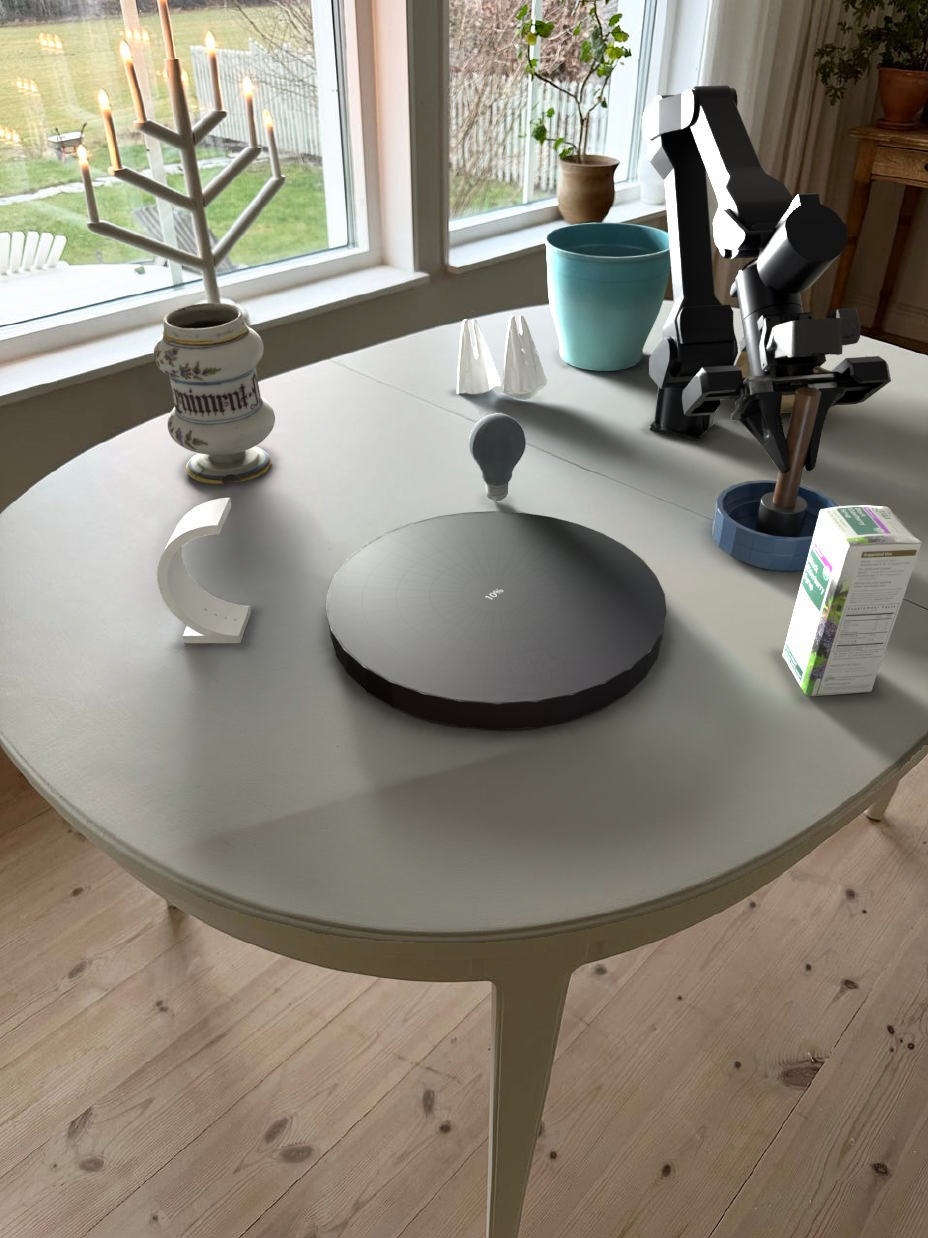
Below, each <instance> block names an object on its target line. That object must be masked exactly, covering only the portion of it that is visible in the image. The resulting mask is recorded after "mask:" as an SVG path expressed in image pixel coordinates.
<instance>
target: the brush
mask: <svg viewBox="0 0 928 1238" xmlns="http://www.w3.org/2000/svg"><path fill="white" fill-rule="evenodd" d="M820 397H821V391H819V390H818V389H815V388H811V387H801V388H798V389H797V390H796V394H795V398H794V403H793V408H792V412H791V413H790V418H789V421H788V422H789V423H788V426H787V431H786V435H785V438H786V443H787V448H788V453H789V463H790V470H789V471H788V472H787V473H781V472H780V470H779V469H778V473H777V477H776V481H777V482H776V487H775V492H770V493H767V494H765V495H764V496H763V497H762V498H761V502H760V507H759V512H758V517H757V522H756V526H755V531H756V532H760V533H764V534H768V535H773V536H780V537H792V538H797V537H800V534H801V530H802V526H803V521H804V517H805V513H806V509H807V503H806V501H805V500H804V499H803V498H801V497H799V496H798V492H799V487H800V485H801V483H802V480H803V479H802V478H803V473H804V469H805V461H806V457H807V453H808V448H809V444H810V440H811V435H812V431H813V427H814V422H815V418H816V414H817V410H818V405H819V401H820Z"/></svg>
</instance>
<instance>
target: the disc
mask: <svg viewBox="0 0 928 1238" xmlns="http://www.w3.org/2000/svg"><path fill="white" fill-rule="evenodd" d="M666 601H667V600H666V594H665V591H664V588H663V587H662V585H661V583H660V581H659V578H658V576H657V575H656V574H655V573H654V571H653V570H652V569H651V568H650V566H649V565H648V564H647V563H646V562H645V560H644V559H642V558H641V557H640V556H639V555H637V553H635V552H634V551H632V550H631V549H630V548H629V547H627V546H626V545H624V544H623V543H622V542H619V541H617V540H615V539H614V538H612V537H610V536H608V535H606V534H605V533H603V532H600V531H597V530H595V529H592V528H589V527H588V526H585V525H582V524H579V523H577V522H573V521H569V520H568V521H567V520H565V519H560V518H557V517H553V516H548V515H541V514H534V513H526V512H520V511H519V512H518V511H517V512H516V511H496V510H491V511H490V510H488V511H487V510H486V511H467V512H466V511H465V512H459V513H452V514H445V515H438V516H437V515H436V516H434V517H430V518H425V519H421V520H418V521H414V522H410V523H408V524H405V525H403V526H400V527H397V528H395V529H391V530H390V531H387V532H384V533H383V534H381V535H379V536H377V537H376V538H374V539H372V540H370V541H368V542H367V543H365V544H364V545H362V546H361V547H360V548H359V549H358V550H356V551H355V552H354V553H353V554H351V555H350V556H349V557H347V559H346V560H345V561H344V562H343V564H341V566H340V567H339V569H338V570H337V571H336V572H335V574H334V575H333V578H332V580H331V583H330V584H329V587H328V589H327V592H326V604H325V613H326V618H327V620H328V626H329V635H330V640H331V644H332V647H333V650H334V655H335V657H336V658H337V660H338V661H339V663H340V665H341V666H342V668H343V670H344V671H345V672H346V674H347V675H348V676H349V677H350V678H351V679H352V680H353V681H354V682H355V683H356V684H358V685H359V686H360V687H361V688H362V689H363V690H364V691H365V692H366V693H367V694H369V695H371V696H372V697H374V698H376V699H377V700H379V701H380V702H382V703H385V704H386V705H388V706H390V707H391V708H393V709H396V710H398V711H401V712H403V713H407V714H409V715H411V716H414V717H416V718H419V719H422V720H425V721H430V722H433V723H439V724H443V725H447V726H452V727H458V728H464V729H465V728H467V729H477V730H478V729H479V730H490V731H491V730H492V731H503V730H520V729H537V728H542V727H545V726H550V725H555V724H561V723H566V722H571V721H574V720H576V719H579V718H581V717H583V716H584V717H585V716H587V715H590V714H592V713H595V712H598V711H601V710H602V709H604V708H606V707H608V706H610V705H611V704H613V703H614V702H615V703H616V701H618V700H620V699H622V698H623V697H625V696H627V695H628V694H629V693H630V692H631V691H632V690H633V689H635V688H636V687H637V686H638V685H639V684H640V683H641V682H642V681H643V680H644V679H646V677H647V676H648V674H649V673H650V671H651V670H652V668H653V666H654V665H655V663H656V662H657V660H658V659H659V658H658V657H659V655H660V650H661V647H662V642H663V637H664V631H665V625H666V618H667V613H668V612H667V610H668V609H667V602H666Z"/></svg>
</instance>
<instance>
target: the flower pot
mask: <svg viewBox="0 0 928 1238" xmlns="http://www.w3.org/2000/svg"><path fill="white" fill-rule="evenodd" d="M544 244H545V246H546V247H545V248H546V250H545V251H546V267H547V271H546V272H547V292H548V301H549V302H548V303H549V309H550V312H551V317H552V319H553V323H554V326H555V331H556V335H557V337H558V343H559V356H560V358H561V359H562V360H563V361H564V362H565V363H567V364H568V365H570V366H573V367H576V368H578V369H582V370H587V371H588V370H589V371H596V372H597V371H598V372H611V371H612V372H613V371H620V370H625V369H628V368H629V369H630V368H631V367H633V366H635V365H637V364H638V363H639V362H640V361H641V359H642V354H643V350H644V347H645V345H646V342H647V341H648V338H649V336H650V333H651V331H652V329H653V327H654V325H655V323H656V321H657V319H658V316H659V314H660V311H661V309H662V306H663V302H664V299H665V295H666V291H667V287H668V282H669V276H670V271H671V259H670V246H669V233H668V231H665V230H663V229H659V228H657V227H652V226H649V225H642V224H634V223H625V222H624V223H623V222H588V223H587V222H586V223H576V224H572V225H571V224H570V225H565V226H562V227H558V228H555V229H553V230H551V231H550V232H548V233H547V234H546V235H545V237H544Z"/></svg>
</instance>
